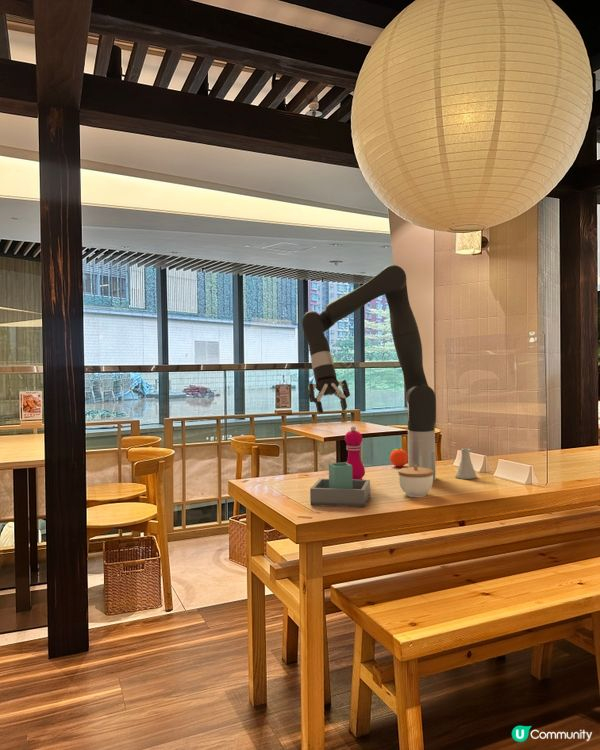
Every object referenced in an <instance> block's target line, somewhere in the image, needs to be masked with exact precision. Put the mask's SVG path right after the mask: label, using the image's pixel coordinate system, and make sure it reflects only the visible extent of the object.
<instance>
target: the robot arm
mask: <svg viewBox="0 0 600 750" xmlns="http://www.w3.org/2000/svg"><path fill="white" fill-rule="evenodd" d="M408 293H409V291H408V286H407V274H406V271H405V270H404V268H402V267H401V266H399V265H397V264H396V265H395V264H391V265H387V266H385V267H384V268H383V269H382V270H381V271H380V272H379V273H378V274H376V275H375V276H373V278H371V279H369V281H367V282H365V283H364V284H362V285H360V286H358V287H357V288H355V289H353V290H351V291H349V292H347V293H346V294H345V293H344V295H342V296H340V297H338V298H336V299H335V300H332V301H331V302H329V303H328V304H327V305H326V306H325V309H324V310H323V311H321V312H320V313H318V312H317V311H313V310H311V311H307V312H305V314H304V315H303V317H302V319H301V324H302V330H303V332H304V335H305V338H306V341H307V343H308V350H309V353H310V361H311V368H312V371H313V375H314V376H313V377H314V381H315V384H313V383H309V384H308V385H307V394H308V401H309V403H314V404H315V406H316V407H315V408H316V411H317V413H318V414H324V409H323V404H322V401H321V400H322V398H323V396H324V397H325V396H333V395H334V396H335V397H337V398H338V399H339V402H340V407H341V408H340V409H341V411H343V412H344V411H346V410H347V408H348V404H347V398H348V397H350V396H351V393H350V390H349V385H348V382H347V380H346V379H343V380H341V381H339V380H338V379H337V378H338V377H337V373H336V369H335V364H334V358H333V356H332V353H331V349H330V344H329V340H328V339H327V337H326V335H325V332H326V331H327V330H329V329H330V328H332V327H333V326H334V325H335V324H336V323H337V322H339V321H341V320H343V319H345V318H346V317H349V316H350V315H352V314H353V313H355V312H356V311H358V310H359V309H361V308H363V306H366V305H367V304H368V303H370V302H371V301H373V300H375V299H377V298H379V297H382V296H385V299H386V302H387V306H388V310H389V321H390V322H389V323H390V329H391V330H390V331H391V336H392V340H393V341H392V342H393V344H394V348H395V352H396V356H397V358H398V362H399V365H400V368H401V371H402V376H403V383H404V389H405V398H406V402H407V404H408V421H407V455H408V461H407V463H408V465H407V466H408V467H414V465H417V467H422V468H428V469H431V470H433V482H435V481H436V479H437V478H436V477H437V475H436V474H437V473H436V472H437V471H436V468H437V466H436V435H435V434H436V421H437V415H436V414H437V399H436V398H437V397H436V393H435V391H434V390H433V388H432V387H430V385H429V383H428V382H427V378H426V375H425V374H426V373H425V370H424V363H423V359H424V358H423V345H422V339H421V335H420V330H419V327H418V323H417V321H416V318H415V315H414V313H413V310H412V307H411V303H410V299H409V294H408ZM339 386H340V388H341V389H342V390H341V389H340V388H339ZM315 390H317V391H318V393H317V395H315ZM315 396H316V397H315ZM408 467H407V468H408Z"/></svg>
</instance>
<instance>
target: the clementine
mask: <svg viewBox="0 0 600 750" xmlns="http://www.w3.org/2000/svg"><path fill="white" fill-rule="evenodd" d="M389 453H390V452H388V453H387V455H389ZM389 459H390V462H391V464H392V465H393V466H395V467H398V468H402V467H404V466H405V465H406V464H407V463H408V452H406V451H405V450H404V449H401V448H392V450H391V453H390V456H389Z"/></svg>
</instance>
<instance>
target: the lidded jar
mask: <svg viewBox="0 0 600 750" xmlns="http://www.w3.org/2000/svg"><path fill="white" fill-rule="evenodd" d="M397 473H398V482H399V486H400V489H401V491H402V492H403V493H405V495H406V496H407V497H409V498H410V497H411V498H424V497H426V496H427V494H428V493H430V491H431V489H432V487H433V482H434V481H433V470H431V469H428V468H422V467H417V465H414V467H401V468H399V469H398V471H397Z"/></svg>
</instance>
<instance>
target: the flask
mask: <svg viewBox="0 0 600 750" xmlns="http://www.w3.org/2000/svg"><path fill="white" fill-rule="evenodd" d="M470 451H471V449H470V448H461V449H460V452H461V456H460V457H461V459H460V462H459V466H458V468H457V472H456V474H455V478H456V479H457V478H458V479H462V480H472V479H473V480H474V479H476V478H477V473H476V470H475V469H474V466H473V463H472V459H471V456H470V455H471V454H470Z"/></svg>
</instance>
